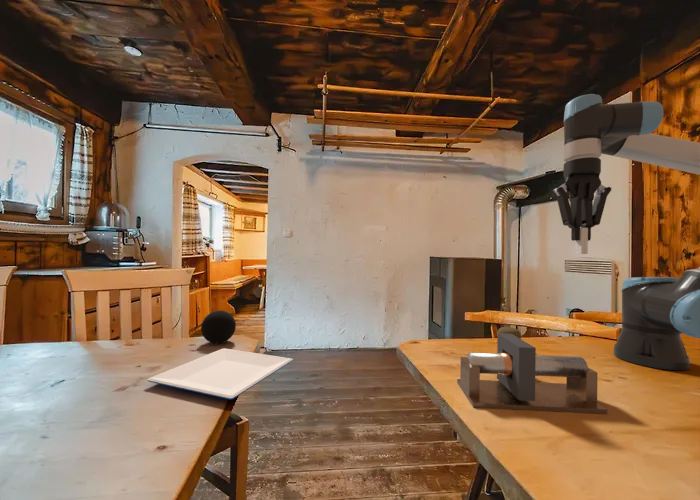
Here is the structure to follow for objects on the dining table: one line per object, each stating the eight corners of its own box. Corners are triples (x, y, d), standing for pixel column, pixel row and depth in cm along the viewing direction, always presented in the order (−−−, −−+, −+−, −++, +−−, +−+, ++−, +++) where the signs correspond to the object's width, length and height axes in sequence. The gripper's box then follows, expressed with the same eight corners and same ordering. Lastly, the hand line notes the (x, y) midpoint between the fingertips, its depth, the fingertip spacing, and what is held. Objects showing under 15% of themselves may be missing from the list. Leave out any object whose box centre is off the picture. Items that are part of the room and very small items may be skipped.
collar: (510, 379, 68) (511, 333, 68) (535, 401, 58) (535, 347, 58) (497, 378, 68) (497, 333, 68) (518, 400, 58) (519, 347, 58)
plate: (145, 388, 65) (145, 378, 65) (223, 355, 86) (223, 347, 86) (231, 408, 57) (231, 397, 57) (293, 366, 78) (293, 358, 78)
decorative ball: (196, 348, 90) (197, 314, 90) (205, 338, 100) (206, 308, 100) (232, 346, 92) (233, 313, 92) (237, 337, 102) (238, 307, 102)
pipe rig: (568, 387, 67) (569, 347, 67) (607, 413, 56) (607, 366, 56) (457, 382, 69) (457, 344, 69) (473, 407, 58) (473, 361, 58)
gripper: (598, 164, 81) (597, 254, 81) (546, 164, 82) (545, 253, 82) (621, 155, 73) (620, 254, 73) (564, 156, 74) (562, 253, 74)
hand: (580, 253), depth 77 cm, fingers closed
